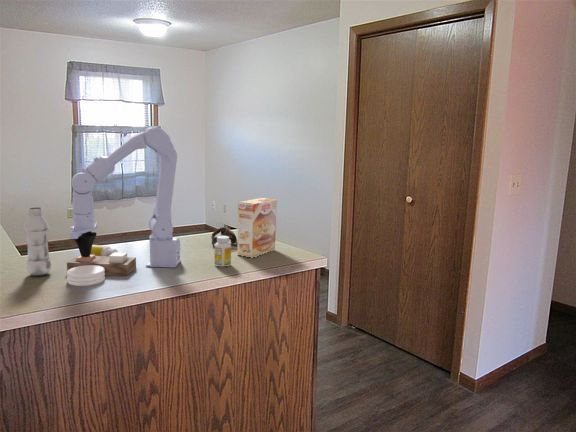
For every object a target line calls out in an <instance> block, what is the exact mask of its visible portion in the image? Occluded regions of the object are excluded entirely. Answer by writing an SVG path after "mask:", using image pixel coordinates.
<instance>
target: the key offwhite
mask: <svg viewBox="0 0 576 432" xmlns="http://www.w3.org/2000/svg"><path fill="white" fill-rule="evenodd" d="M127 257H128V252H119V251H118V252H114V253H113V254H111V255H110V256H109V262H110V263H124V262H126V261H127Z"/></svg>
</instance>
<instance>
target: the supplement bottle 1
mask: <svg viewBox="0 0 576 432" xmlns="http://www.w3.org/2000/svg"><path fill="white" fill-rule="evenodd" d="M114 252H118V253H119V251H118V249H116V248H112V247H111V246H108V245H101V244H92V249H91V254H90V255H95V256H107V257H109V256H110V255H111V254H113V253H114Z"/></svg>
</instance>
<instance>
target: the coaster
mask: <svg viewBox="0 0 576 432" xmlns="http://www.w3.org/2000/svg"><path fill="white" fill-rule="evenodd" d="M66 271H67V270H66ZM104 272H105V269H104V268H103V267H101V266H96V265H85V266H78V267H74V268H71V269H70V270H68V271H67V272H66V275H67V276H66V279H67V280H66V281H67V284H68V285H70V286H73V287H88V286H93V285H98V284H101V283H103V282H104V281H105V280H106V275H105V273H104Z"/></svg>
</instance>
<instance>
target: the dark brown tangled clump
mask: <svg viewBox="0 0 576 432" xmlns="http://www.w3.org/2000/svg"><path fill="white" fill-rule="evenodd" d="M218 234H220V235H219V236H228V237H229V241H230V244H231V243H233V244H235V246H237V247H238V237H237V236H236V234H235V232H234V231H233V230H231V229H229V228H228V227H226V226H222V227H219V228H217V229H216V230H214V231H213V232H212V234H211V236H210V238H211V245H212V246H213V245H214V246H215V244H216V243H217V237H218V236H217V235H218Z"/></svg>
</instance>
